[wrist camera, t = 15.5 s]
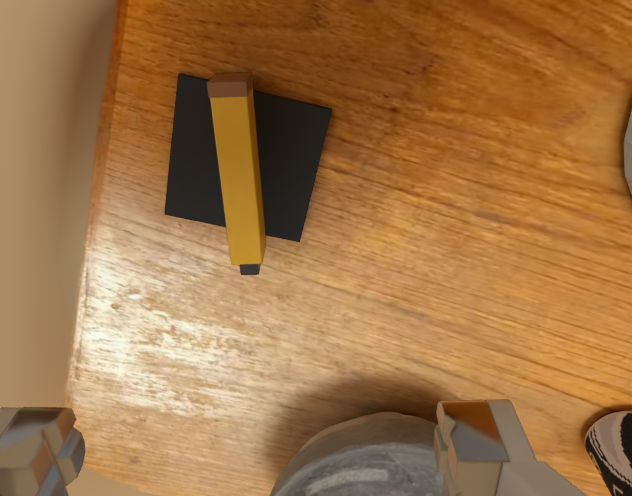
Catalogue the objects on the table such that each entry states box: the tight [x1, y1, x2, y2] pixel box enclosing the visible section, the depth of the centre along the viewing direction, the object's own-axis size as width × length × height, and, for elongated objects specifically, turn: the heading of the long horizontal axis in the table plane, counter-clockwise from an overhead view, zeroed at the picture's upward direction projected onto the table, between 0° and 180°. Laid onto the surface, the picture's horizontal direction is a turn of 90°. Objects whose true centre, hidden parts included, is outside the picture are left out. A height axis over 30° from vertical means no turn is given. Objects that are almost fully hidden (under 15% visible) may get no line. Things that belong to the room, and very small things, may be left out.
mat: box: [165, 73, 331, 242], centre depth 32 cm, size 9×9×1 cm
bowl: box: [270, 412, 444, 496], centre depth 41 cm, size 18×18×8 cm
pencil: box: [207, 72, 266, 275], centre depth 31 cm, size 12×2×3 cm, turn 2°
